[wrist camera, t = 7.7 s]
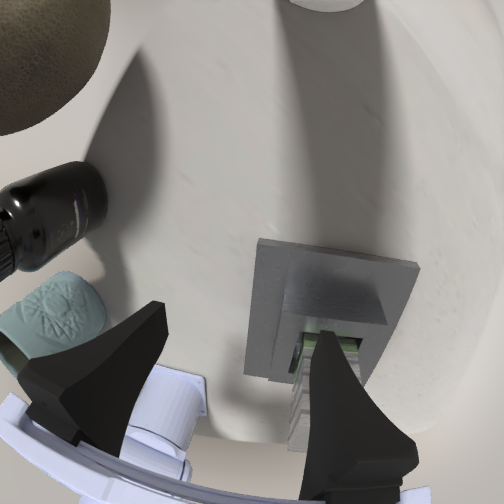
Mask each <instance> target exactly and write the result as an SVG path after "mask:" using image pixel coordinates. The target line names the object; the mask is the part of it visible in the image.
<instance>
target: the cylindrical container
mask: <svg viewBox="0 0 504 504" xmlns="http://www.w3.org/2000/svg"><path fill="white" fill-rule="evenodd" d="M289 1H290V2H292V3H294V4H296V5H298V6H300V7H303V8H306V9H309V10H314V11H320V12H339V11H344V10H348V9H351V8H353V7H355V6H357V5H359V4H360V3H361V2H363V1H364V0H289Z"/></svg>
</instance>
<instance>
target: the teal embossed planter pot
mask: <svg viewBox="0 0 504 504" xmlns="http://www.w3.org/2000/svg"><path fill="white" fill-rule="evenodd" d="M105 321H106V312H105V308H104V305H103V303H102V301H101V299H100V297H99V296H98V294H97V293H96V291H95V290H94V289H93V288H92V287H91V286H90V284H89V283H88V282H86V281H85V280H84V279H83V278H81V277H80V276H78V275H77V274H75V273H72V272H69V271H62V272H59V273H57V274H55V275H54V276H52V277H51V278H49V279H48V280H47V281H45V282H44V283H42V284H41V285H40V287H38V288H37V289H35V290H34V291H33V292H31V293H30V294H28V295H27V296H26V297H25V298H24V299H23V300H22V301H20V302H16V303H15V304H14V305H13V306H11V307H10V308H9V309H8V310H6V311H4V312H3V313H2V314H0V360H1V361H2V363H3V364H4V365H5V366H6V368H7V369H8V370H9V371H10V373H11V374H12V375H13V376H14V377H15V378H16V379H17V375H18V373H19V372H20V371H21V370H22V368H23V367H24V366H25V365H26V363H27V362H28V361H29V360H30V359H31V358H37V357H42V356H47V355H51V354H55V353H58V352H62V351H65V350H68V349H71V348H73V347H76V346H78V345H81V344H83V343H86V342H88V341H90V340H92V339H94V338H96V336H97V335H98V334H99V333H100V331H101V330H102V328H103V327H104V324H105Z"/></svg>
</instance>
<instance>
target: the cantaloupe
mask: <svg viewBox="0 0 504 504" xmlns="http://www.w3.org/2000/svg"><path fill="white" fill-rule="evenodd" d="M110 13H111V9H110V0H0V136H4V135H8V134H12V133H15V132H19V131H22V130H24V129H27V128H29V127H32V126H34V125H36V124H38V123H40V122H42V121H43V120H45V119H46V118H48V117H50V116H51V115H53V114H54V113H55V112H57V111H58V110H59V109H61V108H62V107H63V106H64V105H65V104H67V103H68V102H69V101H70V100H71V99H72V98H74V96H76V95H77V94H78V93H79V92H80V91H81V89H82V88H83V87H84V86H85V85H86V83H87V82H88V81H89V79H90V78H91V77H92V75H93V74H94V72H95V70H96V68H97V66H98V63H99V61H100V59H101V55H102V53H103V50H104V47H105V44H106V40H107V36H108V32H109V26H110Z"/></svg>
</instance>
